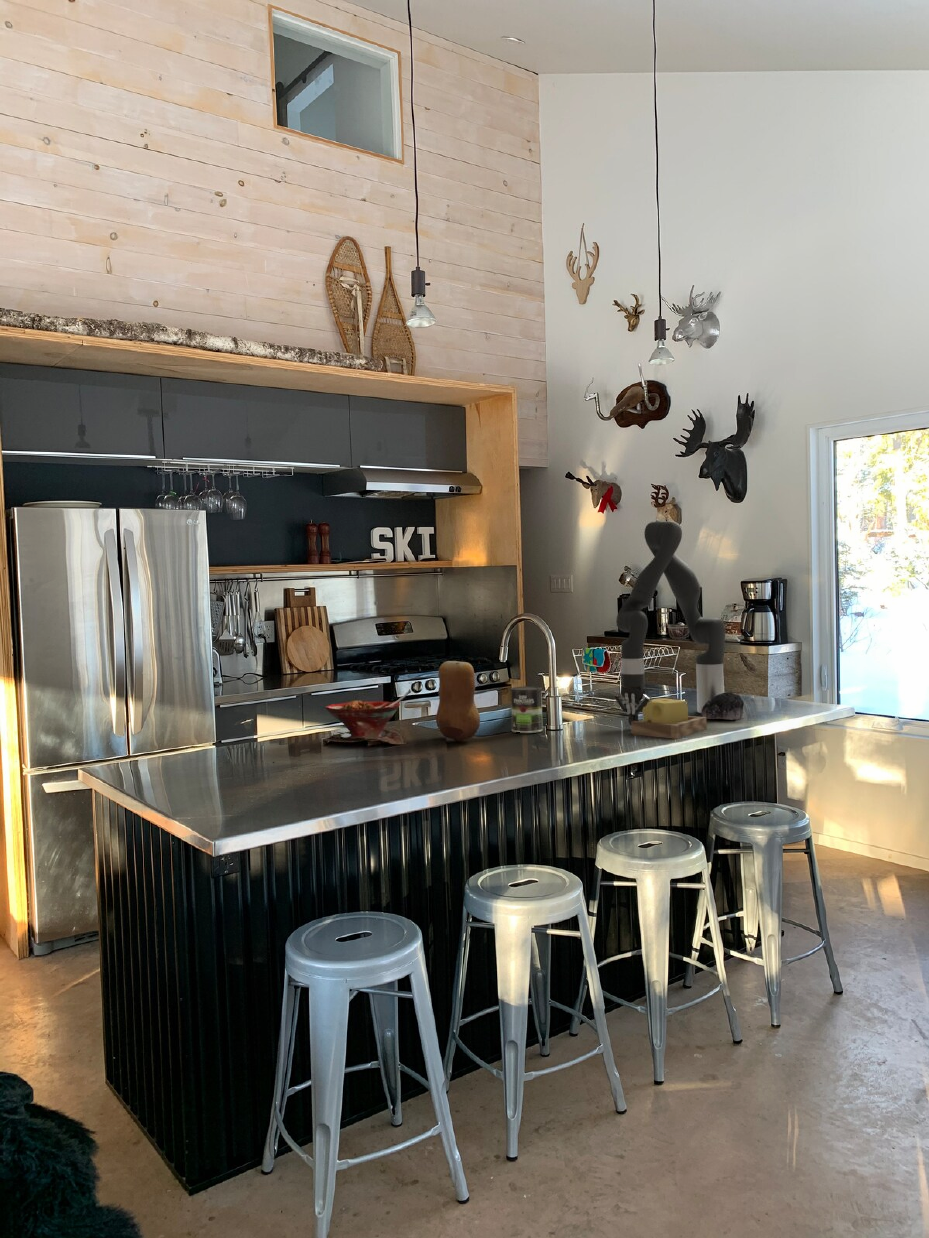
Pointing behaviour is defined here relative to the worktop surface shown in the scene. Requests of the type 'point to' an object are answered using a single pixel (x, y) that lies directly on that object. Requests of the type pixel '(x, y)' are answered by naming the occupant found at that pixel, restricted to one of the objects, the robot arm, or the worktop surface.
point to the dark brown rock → (724, 707)
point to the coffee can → (526, 709)
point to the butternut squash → (457, 701)
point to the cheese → (665, 711)
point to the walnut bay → (669, 728)
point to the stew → (365, 721)
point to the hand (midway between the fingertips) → (633, 725)
